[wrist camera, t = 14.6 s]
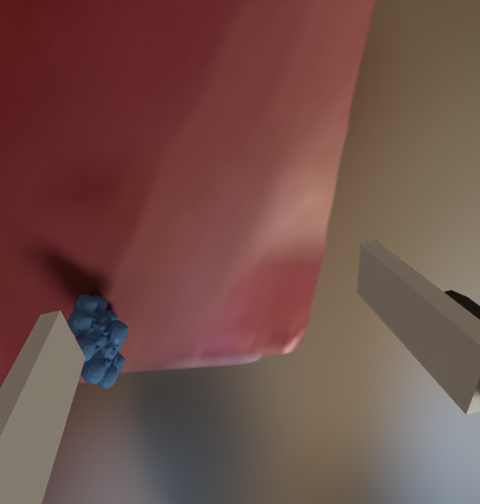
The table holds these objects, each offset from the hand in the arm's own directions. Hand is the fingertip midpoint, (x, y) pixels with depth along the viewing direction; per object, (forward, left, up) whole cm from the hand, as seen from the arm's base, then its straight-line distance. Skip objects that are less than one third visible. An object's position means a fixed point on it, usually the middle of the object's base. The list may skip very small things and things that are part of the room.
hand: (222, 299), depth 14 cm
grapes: (-16, -19, -30) cm, 39 cm away
